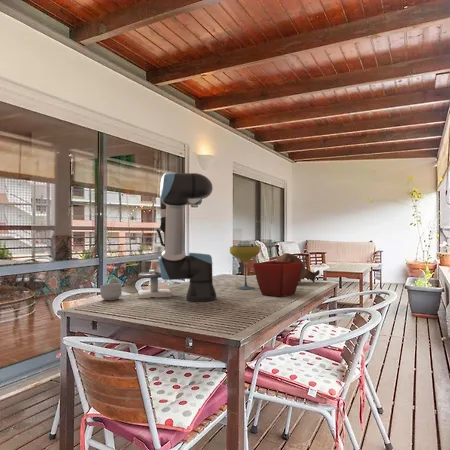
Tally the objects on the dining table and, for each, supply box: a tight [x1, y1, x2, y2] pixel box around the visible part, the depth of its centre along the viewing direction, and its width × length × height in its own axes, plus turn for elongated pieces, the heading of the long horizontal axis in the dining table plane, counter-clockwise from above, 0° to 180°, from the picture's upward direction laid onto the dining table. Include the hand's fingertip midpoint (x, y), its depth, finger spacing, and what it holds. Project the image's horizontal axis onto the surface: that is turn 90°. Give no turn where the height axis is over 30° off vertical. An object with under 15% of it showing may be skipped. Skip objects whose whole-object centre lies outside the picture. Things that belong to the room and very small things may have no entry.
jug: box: [275, 252, 320, 283], centre depth 246 cm, size 20×20×30 cm
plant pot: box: [253, 260, 303, 298], centre depth 201 cm, size 19×19×17 cm
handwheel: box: [137, 261, 162, 279], centre depth 211 cm, size 17×17×8 cm
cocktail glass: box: [229, 245, 261, 291], centre depth 228 cm, size 18×18×25 cm
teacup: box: [99, 282, 123, 301], centre depth 200 cm, size 14×11×8 cm
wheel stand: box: [138, 278, 172, 299], centre depth 211 cm, size 17×17×10 cm
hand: (168, 258), depth 218 cm, fingers closed
